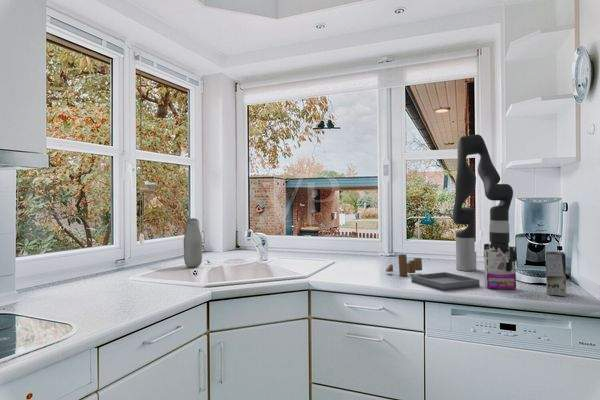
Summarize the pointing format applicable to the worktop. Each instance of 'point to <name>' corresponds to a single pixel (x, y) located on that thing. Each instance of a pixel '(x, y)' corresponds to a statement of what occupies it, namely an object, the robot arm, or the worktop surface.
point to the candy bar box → (498, 271)
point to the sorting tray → (445, 281)
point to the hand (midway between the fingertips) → (499, 269)
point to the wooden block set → (406, 265)
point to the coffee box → (556, 273)
